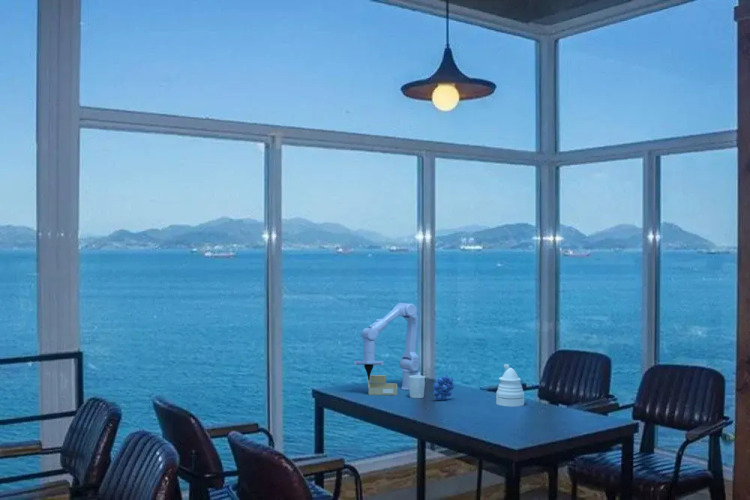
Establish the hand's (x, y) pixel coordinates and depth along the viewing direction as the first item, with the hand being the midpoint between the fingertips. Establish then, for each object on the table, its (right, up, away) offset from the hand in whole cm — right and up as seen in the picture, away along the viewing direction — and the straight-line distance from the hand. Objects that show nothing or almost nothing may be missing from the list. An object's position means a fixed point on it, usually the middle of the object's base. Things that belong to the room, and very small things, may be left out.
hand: (368, 379), depth 382 cm
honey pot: (+66, -7, -24) cm, 71 cm away
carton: (+7, -7, +3) cm, 10 cm away
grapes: (+35, -7, -16) cm, 39 cm away
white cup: (+23, -7, -9) cm, 26 cm away
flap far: (0, -3, 0) cm, 3 cm away
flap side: (+5, -3, +10) cm, 11 cm away
